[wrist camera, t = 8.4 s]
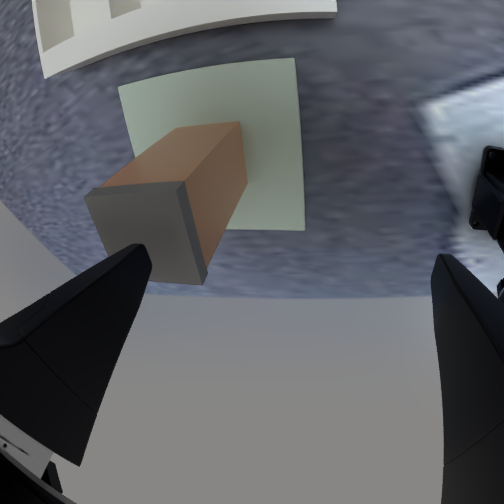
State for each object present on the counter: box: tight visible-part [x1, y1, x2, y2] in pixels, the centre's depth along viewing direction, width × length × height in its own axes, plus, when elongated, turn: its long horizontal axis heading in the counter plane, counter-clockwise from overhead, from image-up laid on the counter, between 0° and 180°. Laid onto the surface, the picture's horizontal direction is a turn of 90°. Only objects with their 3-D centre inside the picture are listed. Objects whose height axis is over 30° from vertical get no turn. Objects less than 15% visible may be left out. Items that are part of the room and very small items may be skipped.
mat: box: [118, 58, 305, 231], centre depth 20 cm, size 12×12×1 cm
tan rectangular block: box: [84, 121, 248, 285], centre depth 16 cm, size 5×5×10 cm
